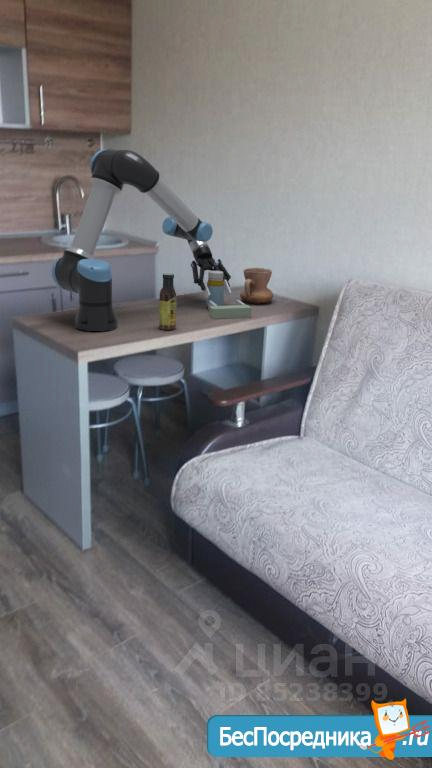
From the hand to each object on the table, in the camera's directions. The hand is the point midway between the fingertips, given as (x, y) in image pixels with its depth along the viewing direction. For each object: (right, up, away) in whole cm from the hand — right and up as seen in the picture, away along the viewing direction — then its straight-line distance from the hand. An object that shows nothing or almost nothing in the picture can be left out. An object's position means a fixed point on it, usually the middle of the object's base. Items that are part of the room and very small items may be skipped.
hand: (219, 295), depth 248 cm
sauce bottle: (-19, -16, -28) cm, 37 cm away
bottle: (-2, -5, +5) cm, 7 cm away
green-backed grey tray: (+3, -8, -4) cm, 9 cm away
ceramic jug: (+16, -1, +18) cm, 24 cm away
